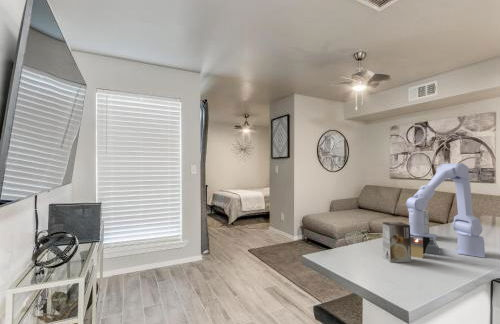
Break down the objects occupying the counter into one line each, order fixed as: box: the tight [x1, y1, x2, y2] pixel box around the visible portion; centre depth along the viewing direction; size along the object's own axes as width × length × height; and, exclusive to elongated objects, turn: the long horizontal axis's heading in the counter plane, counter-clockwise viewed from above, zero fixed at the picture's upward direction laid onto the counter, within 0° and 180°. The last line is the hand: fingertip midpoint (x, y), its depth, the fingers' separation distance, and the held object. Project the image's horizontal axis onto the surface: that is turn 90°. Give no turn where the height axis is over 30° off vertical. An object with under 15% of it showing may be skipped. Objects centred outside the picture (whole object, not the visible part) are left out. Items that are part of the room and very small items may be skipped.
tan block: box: [411, 244, 424, 259], centre depth 115 cm, size 5×5×4 cm
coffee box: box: [381, 221, 412, 263], centre depth 110 cm, size 9×6×16 cm
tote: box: [410, 236, 440, 256], centre depth 125 cm, size 14×14×4 cm
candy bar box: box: [419, 209, 430, 238], centre depth 147 cm, size 11×5×16 cm, turn 179°
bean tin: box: [414, 237, 423, 244], centre depth 125 cm, size 5×5×5 cm
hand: (416, 252), depth 115 cm, fingers closed on tan block, 5 cm apart
